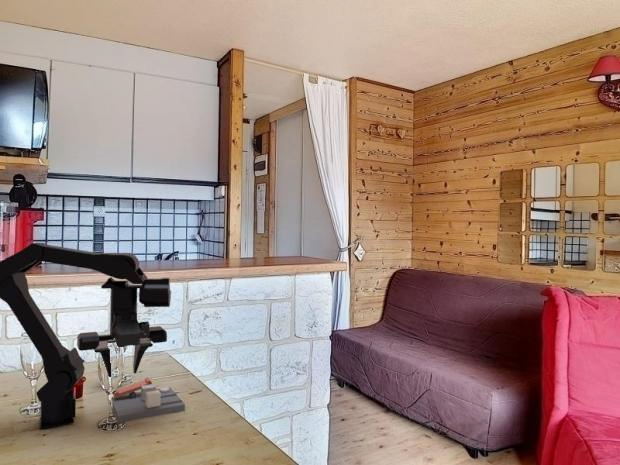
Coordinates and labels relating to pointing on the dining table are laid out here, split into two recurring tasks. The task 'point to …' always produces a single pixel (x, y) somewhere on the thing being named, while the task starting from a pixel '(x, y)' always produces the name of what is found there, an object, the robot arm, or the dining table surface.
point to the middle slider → (147, 390)
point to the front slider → (152, 399)
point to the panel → (135, 407)
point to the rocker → (132, 388)
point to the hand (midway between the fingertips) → (122, 374)
